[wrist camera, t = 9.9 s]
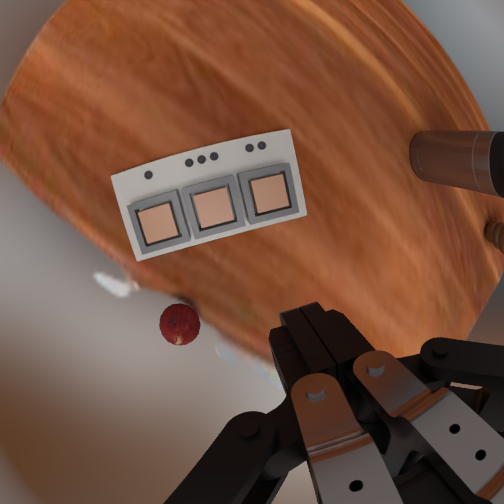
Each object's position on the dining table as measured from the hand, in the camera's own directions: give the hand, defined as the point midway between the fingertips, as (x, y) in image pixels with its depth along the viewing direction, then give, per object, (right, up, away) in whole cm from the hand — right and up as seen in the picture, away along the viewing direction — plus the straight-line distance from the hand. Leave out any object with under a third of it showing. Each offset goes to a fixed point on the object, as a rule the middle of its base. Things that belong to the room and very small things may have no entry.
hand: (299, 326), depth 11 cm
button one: (-13, +7, +23) cm, 28 cm away
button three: (-7, +9, +24) cm, 26 cm away
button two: (0, +11, +25) cm, 27 cm away
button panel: (-7, +11, +26) cm, 29 cm away
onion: (-13, -6, +31) cm, 34 cm away
